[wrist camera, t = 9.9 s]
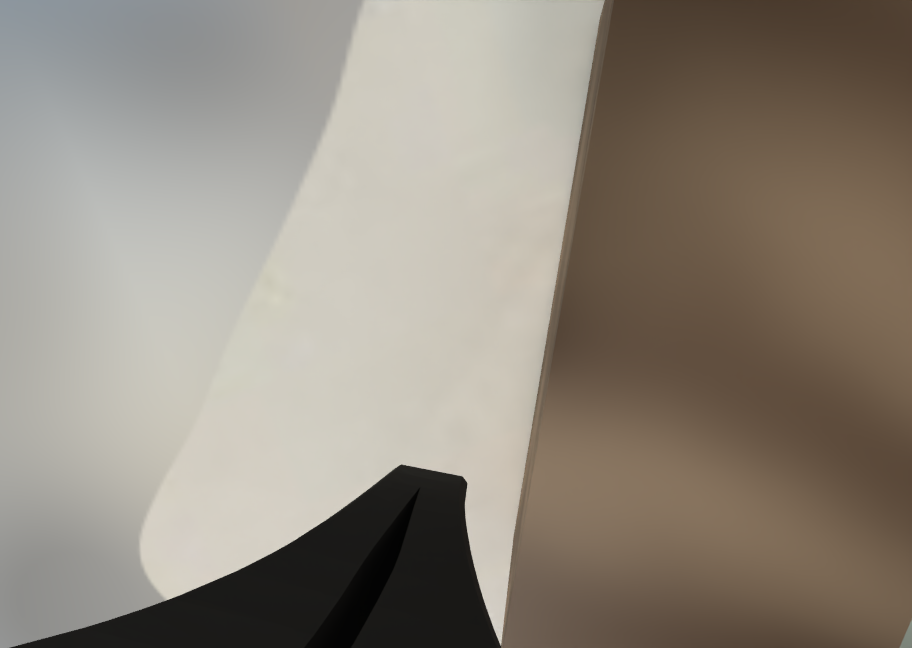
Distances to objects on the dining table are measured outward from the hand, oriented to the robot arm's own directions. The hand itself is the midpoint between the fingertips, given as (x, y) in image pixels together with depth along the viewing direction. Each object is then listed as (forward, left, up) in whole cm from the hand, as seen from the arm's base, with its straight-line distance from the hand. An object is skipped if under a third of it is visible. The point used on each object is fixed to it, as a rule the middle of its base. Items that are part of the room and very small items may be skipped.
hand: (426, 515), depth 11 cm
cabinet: (+2, -7, -9) cm, 12 cm away
